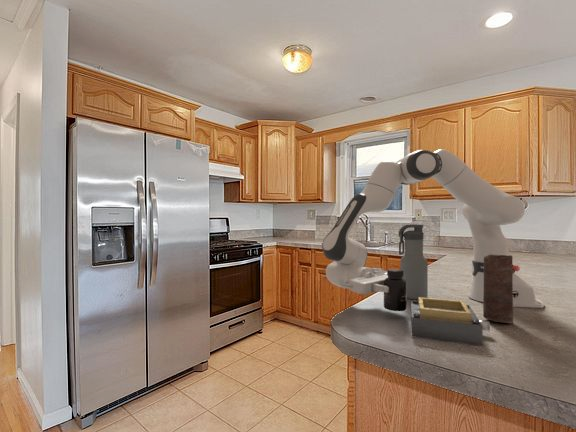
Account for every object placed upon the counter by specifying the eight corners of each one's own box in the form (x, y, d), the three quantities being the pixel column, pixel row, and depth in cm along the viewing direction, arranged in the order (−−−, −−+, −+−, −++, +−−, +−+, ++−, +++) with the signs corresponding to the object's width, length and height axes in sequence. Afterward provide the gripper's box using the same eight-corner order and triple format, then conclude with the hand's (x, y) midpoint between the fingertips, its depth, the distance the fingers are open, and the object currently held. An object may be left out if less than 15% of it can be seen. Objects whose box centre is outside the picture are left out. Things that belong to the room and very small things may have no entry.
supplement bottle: (408, 312, 92) (408, 272, 92) (384, 311, 93) (384, 271, 94) (404, 306, 99) (404, 268, 99) (382, 304, 100) (382, 267, 100)
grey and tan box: (481, 325, 89) (482, 301, 89) (496, 347, 74) (497, 318, 74) (411, 317, 96) (411, 294, 96) (411, 336, 81) (411, 309, 81)
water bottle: (396, 297, 119) (396, 224, 119) (402, 292, 127) (402, 223, 127) (425, 301, 113) (425, 225, 113) (429, 295, 121) (429, 224, 121)
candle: (503, 327, 87) (503, 257, 87) (477, 319, 94) (477, 254, 94) (518, 323, 91) (518, 255, 91) (492, 316, 97) (492, 252, 97)
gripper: (341, 274, 101) (375, 282, 89) (381, 267, 112) (416, 273, 101) (341, 293, 101) (375, 303, 89) (381, 284, 113) (416, 292, 101)
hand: (397, 287), depth 95 cm, fingers closed on supplement bottle, 7 cm apart
